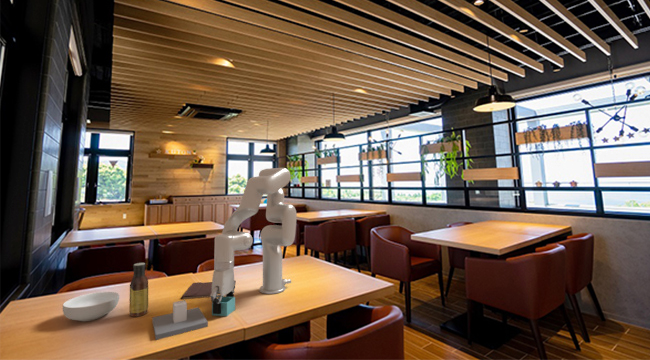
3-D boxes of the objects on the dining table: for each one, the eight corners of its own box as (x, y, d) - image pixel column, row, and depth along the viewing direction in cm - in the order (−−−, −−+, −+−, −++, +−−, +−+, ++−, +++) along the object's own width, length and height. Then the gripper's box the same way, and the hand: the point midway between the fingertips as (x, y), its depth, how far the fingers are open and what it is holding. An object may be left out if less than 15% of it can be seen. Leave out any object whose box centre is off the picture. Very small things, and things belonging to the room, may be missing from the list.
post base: (198, 311, 113) (199, 292, 114) (207, 326, 100) (208, 304, 101) (152, 321, 104) (152, 301, 105) (155, 340, 91) (156, 316, 91)
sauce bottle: (135, 311, 114) (136, 261, 115) (151, 310, 114) (152, 261, 115) (125, 318, 107) (126, 265, 108) (142, 317, 108) (143, 265, 109)
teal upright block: (220, 308, 116) (220, 296, 116) (235, 309, 115) (235, 297, 115) (211, 315, 110) (212, 302, 110) (226, 316, 108) (227, 303, 109)
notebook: (222, 284, 149) (222, 280, 149) (216, 297, 130) (216, 293, 130) (192, 286, 146) (192, 282, 146) (181, 300, 127) (181, 296, 127)
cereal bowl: (71, 331, 97) (72, 310, 98) (55, 320, 106) (55, 301, 106) (126, 313, 112) (127, 295, 112) (108, 305, 120) (108, 288, 121)
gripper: (226, 259, 122) (226, 299, 121) (202, 270, 105) (202, 317, 104) (242, 260, 121) (242, 300, 120) (221, 271, 104) (220, 318, 103)
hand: (223, 308), depth 112 cm, fingers open, 9 cm apart
